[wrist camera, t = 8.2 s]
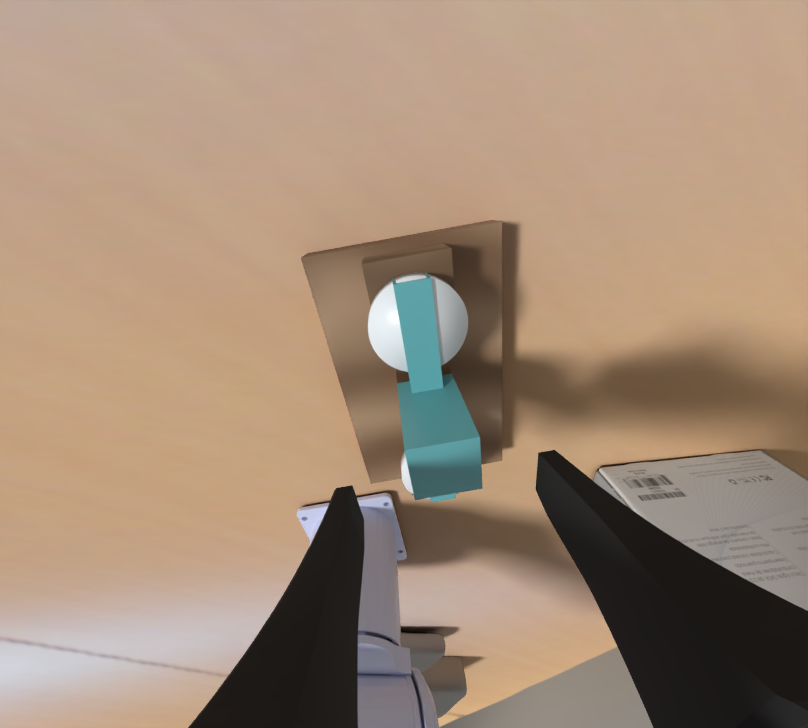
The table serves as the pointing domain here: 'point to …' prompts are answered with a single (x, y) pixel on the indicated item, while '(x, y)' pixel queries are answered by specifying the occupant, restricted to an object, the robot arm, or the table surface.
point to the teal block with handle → (428, 383)
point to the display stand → (377, 381)
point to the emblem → (436, 668)
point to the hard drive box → (726, 513)
